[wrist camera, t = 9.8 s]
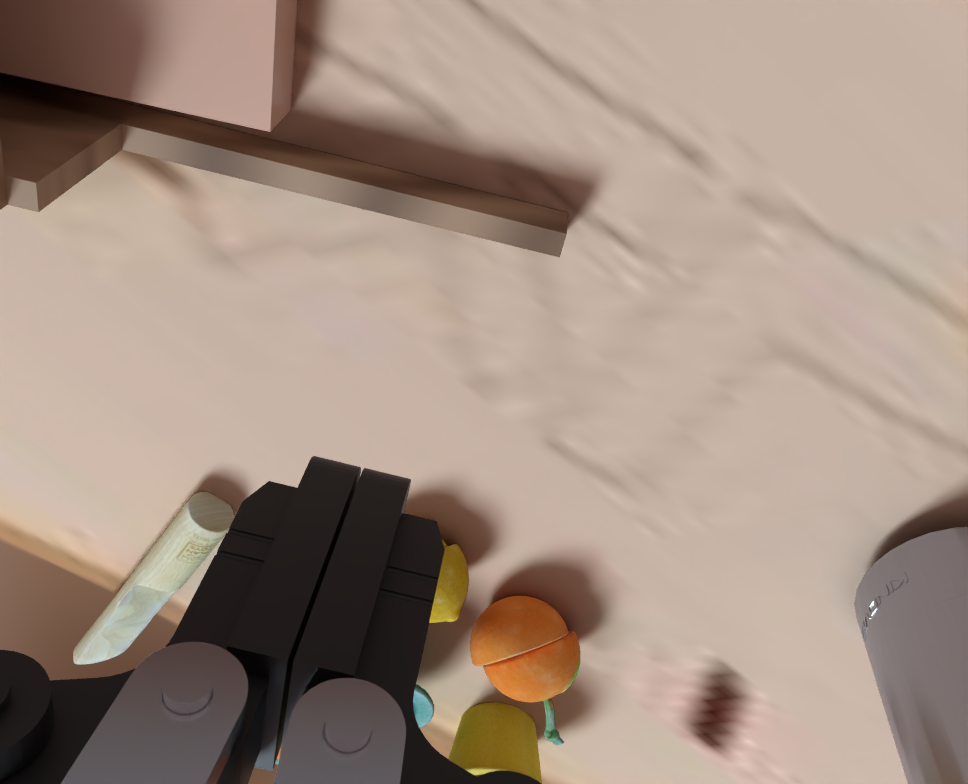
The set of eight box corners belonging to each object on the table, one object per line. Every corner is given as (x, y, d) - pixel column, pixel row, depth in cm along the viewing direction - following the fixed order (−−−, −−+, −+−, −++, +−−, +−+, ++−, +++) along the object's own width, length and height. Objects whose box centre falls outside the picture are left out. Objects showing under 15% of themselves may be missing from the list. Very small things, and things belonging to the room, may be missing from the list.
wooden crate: (643, -47, 29) (657, 9, 22) (561, 235, 35) (550, 356, 28) (-132, -247, 29) (-395, -260, 21) (-82, 76, 35) (-273, 156, 27)
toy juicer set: (640, 570, 46) (646, 696, 39) (530, 759, 56) (521, 884, 50) (96, 409, 44) (10, 515, 37) (86, 636, 54) (17, 750, 48)
